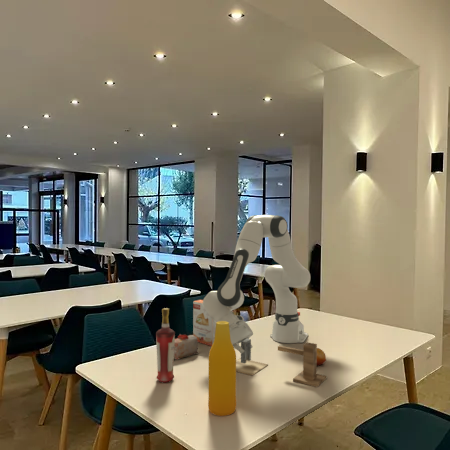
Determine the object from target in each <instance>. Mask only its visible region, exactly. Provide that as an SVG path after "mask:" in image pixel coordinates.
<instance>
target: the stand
mask: <svg viewBox="0 0 450 450" xmlns="http://www.w3.org/2000/svg"><path fill="white" fill-rule="evenodd" d="M317 346H318V344H317V343H314V342H308V341H307V342H305V343H303V345H302V348H303V349H301V348H294V347H289V346H284V345H277V351H279V352H284V353H290V354H294V355H299V356H302V365H303V366H302V370H301V372H300V373H298V374H296V376H294V377H293V378H292V382H295V383H299V384H303V385H307V386H311V387H316V388H318V387H319V386H321V384H323V382H324V381H326V380H327V375H324V374H320V373H317V371H318V370H317V368H318V366H317V348H318V347H317Z"/></svg>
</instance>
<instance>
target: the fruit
mask: <svg viewBox="0 0 450 450" xmlns="http://www.w3.org/2000/svg"><path fill="white" fill-rule="evenodd" d="M326 361H327V357H326V353H325V351H323V349H321V348H319V347H317V367H319V366H321V365H323V364H324V363H326Z"/></svg>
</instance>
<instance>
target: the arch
mask: <svg viewBox="0 0 450 450" xmlns="http://www.w3.org/2000/svg"><path fill="white" fill-rule="evenodd" d="M251 345H252V340H251V338H249V339H245V340H243V341H241V343H240V347H242V348H244V350H245V352H244V353H242V354H241V353H240V358H241V363H246V360H248V361H250V360H251V361H252V348H251Z"/></svg>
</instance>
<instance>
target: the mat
mask: <svg viewBox="0 0 450 450" xmlns="http://www.w3.org/2000/svg"><path fill="white" fill-rule="evenodd" d="M267 366H269V363H265V362H264V363H263V362H260V361H255V360H252V359H251V360H250V361H248V360H246V363H241V357H239V358H238V359H236V373H238V374H239V373H240V374H243V375H248V376H254V375H256V374H257V373H259V372H260V371H261V370H263V369H265V368H266V367H267Z"/></svg>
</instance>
